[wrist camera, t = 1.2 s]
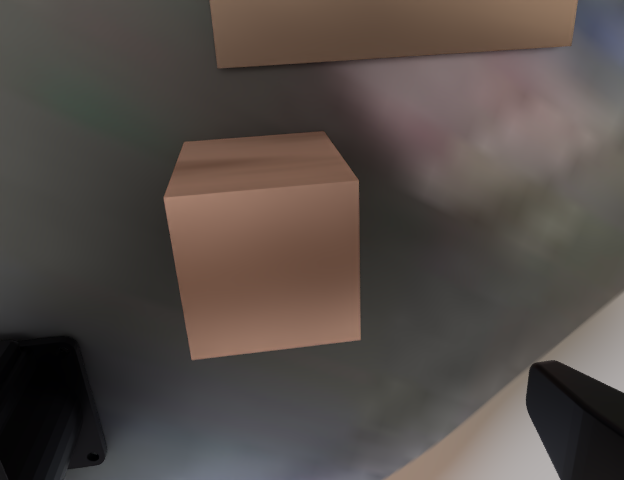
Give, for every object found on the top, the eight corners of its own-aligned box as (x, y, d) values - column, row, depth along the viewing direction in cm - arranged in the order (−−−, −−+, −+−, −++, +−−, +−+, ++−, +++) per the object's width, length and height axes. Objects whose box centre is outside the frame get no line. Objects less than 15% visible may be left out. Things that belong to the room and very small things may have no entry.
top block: (328, 254, 21) (360, 340, 16) (202, 267, 21) (191, 359, 15) (323, 130, 19) (358, 180, 14) (184, 141, 19) (163, 197, 13)
